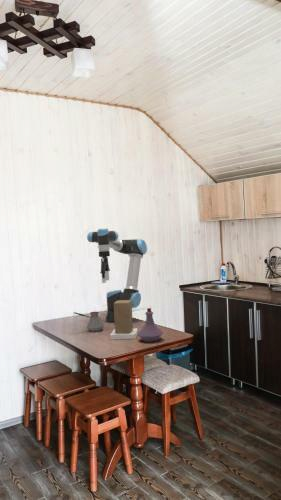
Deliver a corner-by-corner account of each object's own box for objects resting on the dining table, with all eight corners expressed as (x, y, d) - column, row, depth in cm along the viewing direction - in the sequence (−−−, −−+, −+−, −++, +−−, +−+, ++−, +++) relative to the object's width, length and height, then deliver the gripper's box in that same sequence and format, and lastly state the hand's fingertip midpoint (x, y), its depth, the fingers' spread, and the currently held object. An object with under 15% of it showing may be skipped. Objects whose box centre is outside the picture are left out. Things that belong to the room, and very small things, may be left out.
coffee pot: (100, 327, 314) (98, 307, 313) (106, 330, 304) (104, 309, 303) (71, 332, 305) (70, 311, 304) (76, 335, 294) (75, 313, 294)
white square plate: (114, 333, 295) (113, 329, 295) (137, 332, 293) (137, 328, 293) (110, 339, 279) (110, 335, 279) (135, 338, 277) (135, 334, 277)
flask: (169, 339, 272) (167, 307, 271) (150, 345, 261) (149, 312, 260) (150, 335, 284) (148, 305, 283) (132, 341, 273) (130, 309, 272)
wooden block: (130, 333, 280) (128, 302, 279) (115, 333, 282) (113, 302, 281) (133, 329, 290) (131, 300, 289) (118, 329, 292) (117, 300, 291)
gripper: (101, 250, 312) (103, 279, 313) (95, 252, 287) (97, 284, 288) (112, 249, 311) (113, 279, 313) (106, 251, 287) (108, 283, 288)
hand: (105, 281), depth 300 cm, fingers open, 13 cm apart
